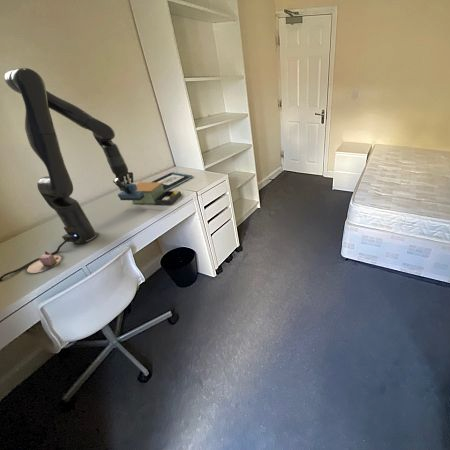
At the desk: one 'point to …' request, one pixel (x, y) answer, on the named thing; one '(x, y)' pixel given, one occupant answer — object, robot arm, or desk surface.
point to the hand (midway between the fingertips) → (129, 192)
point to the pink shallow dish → (44, 263)
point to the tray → (167, 194)
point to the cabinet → (149, 192)
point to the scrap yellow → (174, 193)
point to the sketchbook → (172, 180)
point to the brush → (131, 193)
